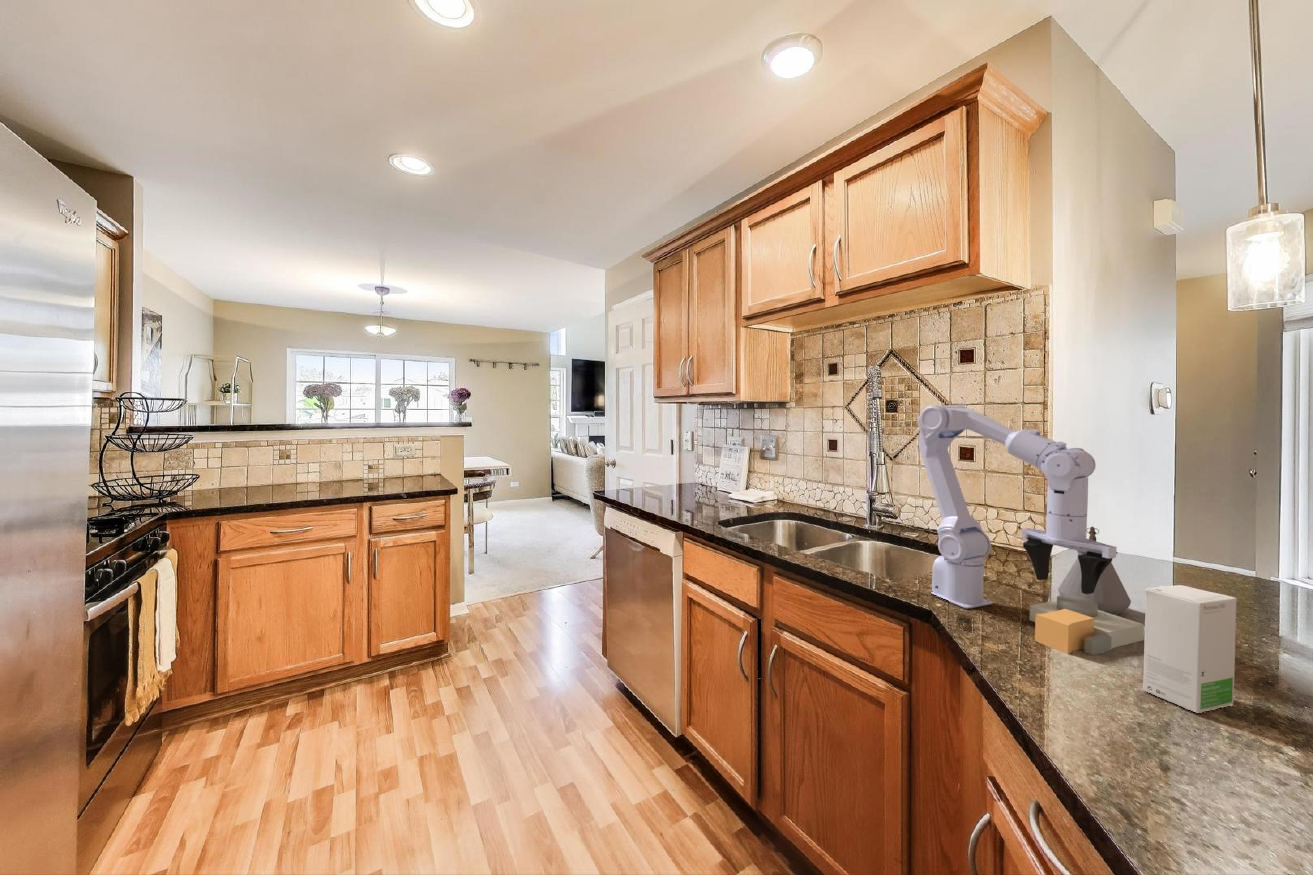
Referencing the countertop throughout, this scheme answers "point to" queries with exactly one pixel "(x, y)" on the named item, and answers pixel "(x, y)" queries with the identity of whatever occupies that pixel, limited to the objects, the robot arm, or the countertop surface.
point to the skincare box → (1190, 647)
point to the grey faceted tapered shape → (1098, 586)
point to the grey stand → (1095, 623)
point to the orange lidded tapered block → (1063, 629)
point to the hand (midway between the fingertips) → (1064, 585)
